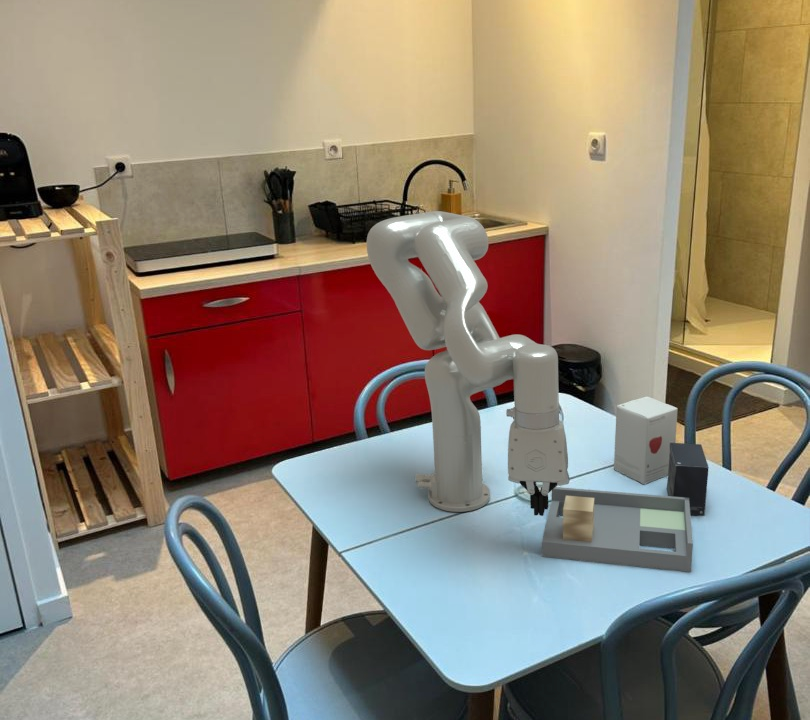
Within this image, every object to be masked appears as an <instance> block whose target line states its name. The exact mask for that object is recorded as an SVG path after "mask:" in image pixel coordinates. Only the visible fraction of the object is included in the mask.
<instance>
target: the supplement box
mask: <svg viewBox="0 0 810 720" xmlns="http://www.w3.org/2000/svg"><path fill="white" fill-rule="evenodd" d="M615 413H616V414H615V415H616V416H615V417H616V418H615V433H614V434H615V435H614V438H615V439H614V455H613V470H615V471H616V472H619V473H621V474H623V475H625V476H627V477H629V478H630V479H633V480H634V481H637V482H639V483H640V484H643V485H645V484H649V483H651V482H654V481H656V480H660V479H661V478H664V477H668V468H669V454H670V443H677V441H676V440H677V439H676V438H677V427H678V426H677V424H678V423H677V422H678V407H675V406H673V405H671V404H668V403H665V402H662V401H660V400H658V399H656V398H652V397H650V396H648V395H646V396H644V397H640V398H637V399H632V400H630V401H627V402H624V403H620V404H617V405H616V412H615Z"/></svg>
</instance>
